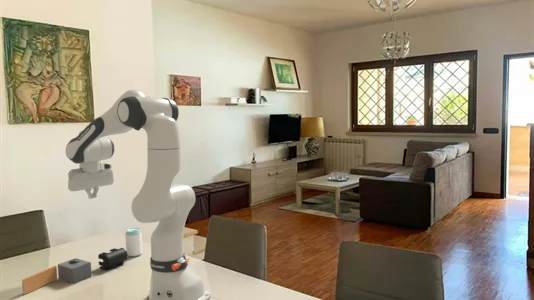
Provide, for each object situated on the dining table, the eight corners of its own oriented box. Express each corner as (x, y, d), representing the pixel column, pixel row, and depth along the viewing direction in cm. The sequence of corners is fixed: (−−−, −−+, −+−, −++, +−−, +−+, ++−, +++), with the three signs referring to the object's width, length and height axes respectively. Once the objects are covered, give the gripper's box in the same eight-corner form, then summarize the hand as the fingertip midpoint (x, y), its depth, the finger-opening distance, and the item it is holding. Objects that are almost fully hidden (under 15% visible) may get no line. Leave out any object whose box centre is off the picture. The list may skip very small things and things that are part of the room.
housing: (91, 276, 159) (90, 260, 159) (73, 283, 153) (72, 267, 152) (76, 272, 165) (75, 256, 164) (58, 279, 158) (57, 263, 157)
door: (24, 294, 144) (23, 279, 144) (21, 293, 145) (20, 279, 144) (57, 279, 157) (56, 265, 157) (54, 278, 158) (53, 265, 157)
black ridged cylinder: (109, 271, 165) (108, 255, 164) (98, 268, 168) (97, 253, 167) (128, 263, 173) (127, 248, 173) (116, 261, 177) (116, 246, 176)
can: (145, 252, 187) (143, 227, 186) (138, 257, 180) (136, 231, 179) (131, 251, 188) (129, 227, 187) (123, 257, 181) (122, 231, 180)
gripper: (72, 170, 161) (75, 203, 162) (114, 164, 178) (116, 194, 179) (63, 169, 164) (65, 202, 165) (105, 163, 182) (107, 193, 183)
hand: (92, 198), depth 173 cm, fingers closed
